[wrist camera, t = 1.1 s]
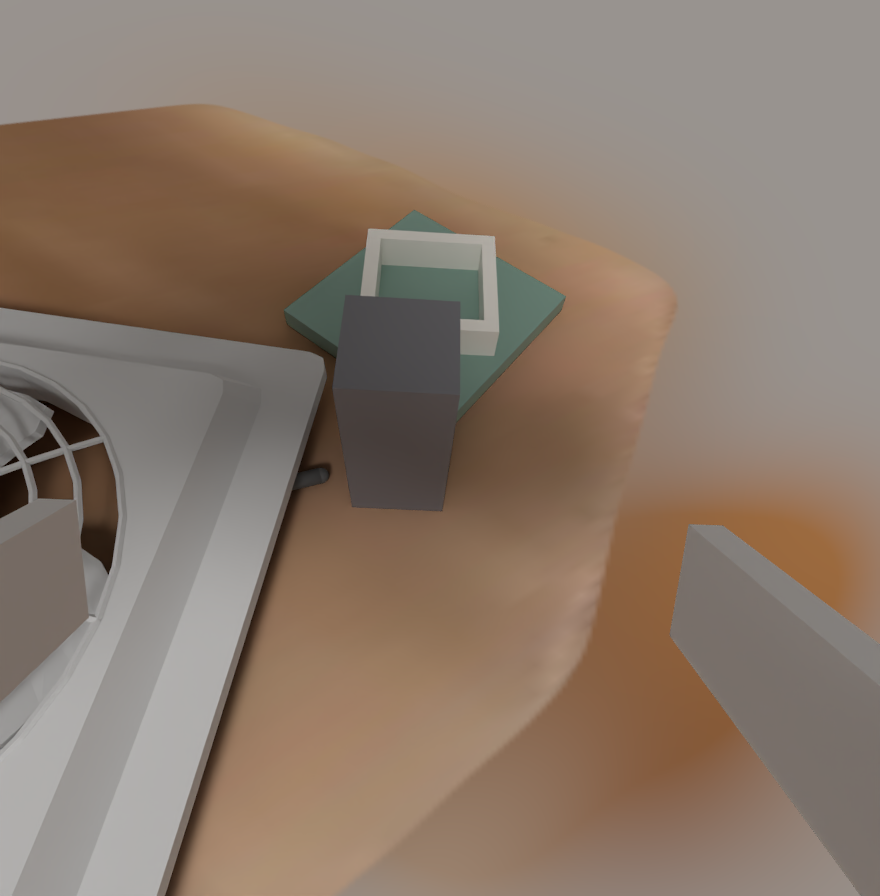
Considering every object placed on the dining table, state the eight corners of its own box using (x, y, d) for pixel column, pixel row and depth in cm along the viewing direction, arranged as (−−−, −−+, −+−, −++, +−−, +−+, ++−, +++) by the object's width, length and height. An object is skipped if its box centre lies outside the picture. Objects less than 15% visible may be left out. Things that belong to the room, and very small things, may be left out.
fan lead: (148, 527, 28) (142, 520, 27) (147, 512, 28) (141, 505, 27) (331, 484, 29) (329, 476, 29) (328, 470, 30) (326, 463, 29)
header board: (286, 324, 35) (277, 284, 32) (413, 224, 40) (414, 182, 37) (445, 434, 31) (450, 400, 29) (561, 310, 36) (574, 271, 34)
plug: (352, 507, 29) (332, 388, 20) (360, 427, 31) (345, 290, 23) (442, 511, 29) (460, 395, 20) (443, 432, 31) (460, 297, 23)
